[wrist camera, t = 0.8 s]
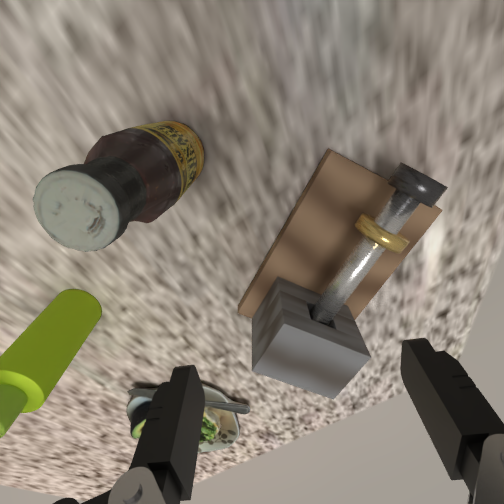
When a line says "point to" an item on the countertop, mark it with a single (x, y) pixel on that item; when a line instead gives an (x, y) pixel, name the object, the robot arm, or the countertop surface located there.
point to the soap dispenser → (44, 353)
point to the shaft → (378, 237)
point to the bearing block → (321, 279)
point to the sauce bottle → (119, 184)
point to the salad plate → (215, 414)
